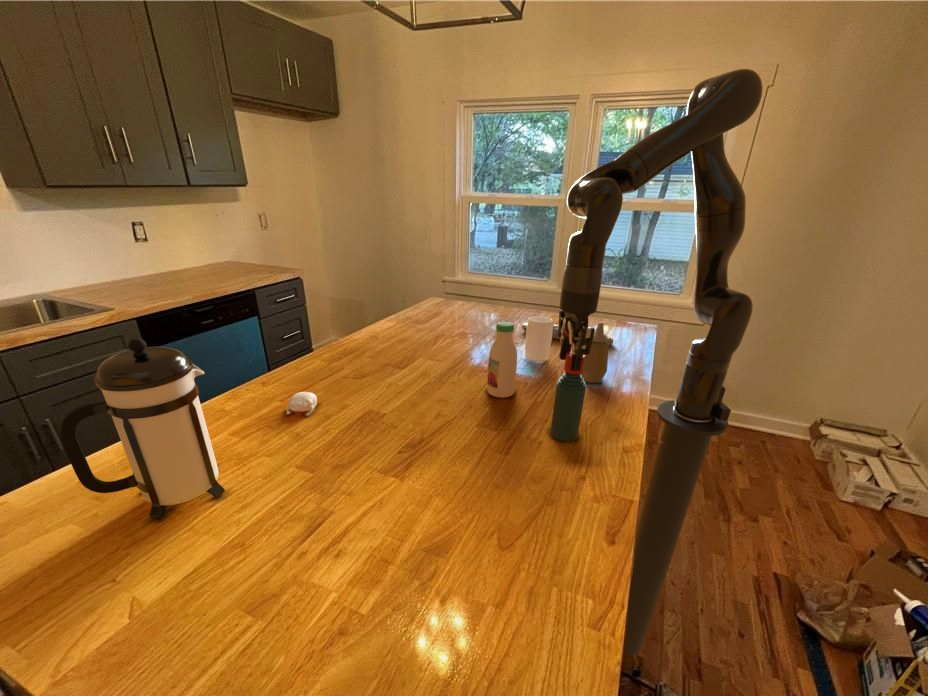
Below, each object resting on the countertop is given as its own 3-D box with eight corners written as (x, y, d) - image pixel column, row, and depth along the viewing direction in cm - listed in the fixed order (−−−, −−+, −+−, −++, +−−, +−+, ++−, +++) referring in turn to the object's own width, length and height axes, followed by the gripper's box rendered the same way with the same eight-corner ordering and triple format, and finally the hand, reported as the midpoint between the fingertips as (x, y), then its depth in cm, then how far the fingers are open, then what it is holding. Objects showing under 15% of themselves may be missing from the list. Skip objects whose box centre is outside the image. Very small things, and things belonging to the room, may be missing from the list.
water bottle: (566, 424, 104) (577, 350, 95) (583, 437, 99) (597, 360, 90) (544, 430, 101) (554, 354, 93) (561, 443, 96) (573, 365, 88)
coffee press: (175, 462, 86) (129, 320, 73) (247, 473, 84) (212, 327, 71) (94, 523, 70) (17, 356, 58) (179, 538, 68) (119, 367, 55)
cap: (563, 373, 92) (566, 357, 90) (564, 366, 95) (566, 350, 93) (583, 375, 91) (585, 359, 89) (582, 368, 94) (585, 352, 93)
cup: (523, 354, 145) (527, 314, 139) (548, 356, 145) (552, 316, 139) (524, 364, 138) (528, 322, 132) (550, 365, 137) (555, 323, 131)
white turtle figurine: (309, 417, 104) (307, 403, 102) (282, 415, 104) (280, 402, 102) (321, 402, 111) (319, 389, 109) (296, 400, 111) (294, 387, 110)
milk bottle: (513, 386, 122) (519, 320, 114) (515, 399, 115) (521, 328, 107) (486, 385, 123) (490, 319, 114) (487, 397, 116) (490, 327, 107)
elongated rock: (609, 353, 152) (612, 346, 161) (612, 339, 150) (616, 333, 159) (517, 332, 165) (525, 327, 173) (519, 319, 163) (527, 314, 171)
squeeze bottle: (587, 386, 124) (597, 327, 116) (572, 375, 131) (581, 319, 123) (610, 383, 126) (621, 325, 118) (594, 373, 133) (604, 317, 125)
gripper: (614, 296, 79) (599, 377, 86) (584, 280, 92) (573, 352, 99) (576, 296, 78) (564, 379, 85) (551, 280, 91) (542, 353, 98)
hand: (569, 364), depth 92 cm, fingers open, 5 cm apart
